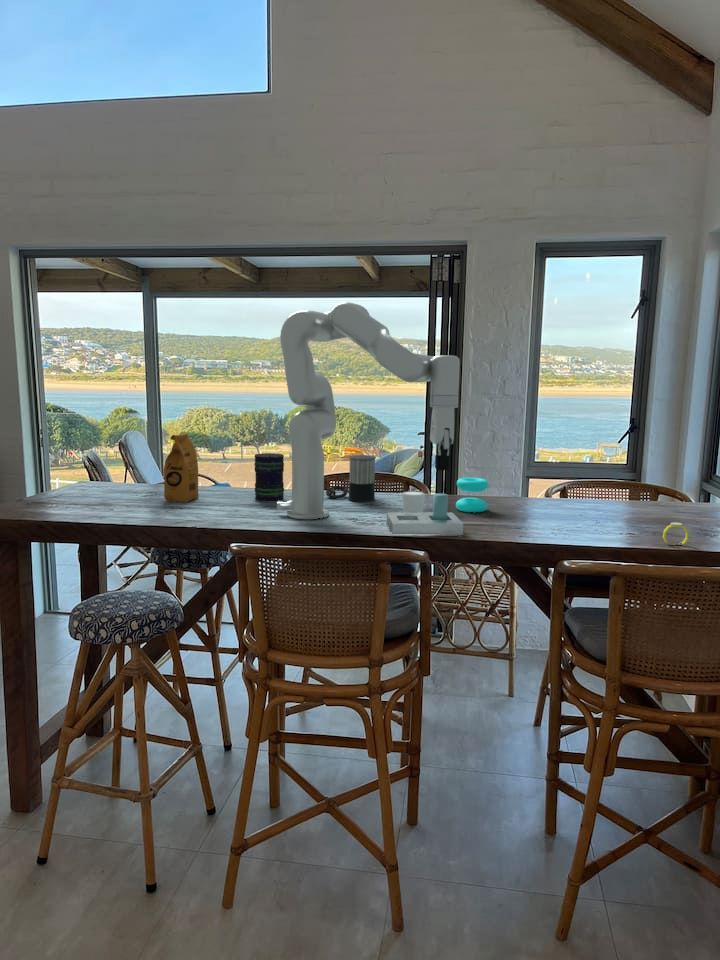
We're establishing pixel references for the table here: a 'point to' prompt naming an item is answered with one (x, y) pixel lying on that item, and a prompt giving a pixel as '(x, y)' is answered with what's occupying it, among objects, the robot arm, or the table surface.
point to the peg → (440, 506)
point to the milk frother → (358, 480)
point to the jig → (423, 523)
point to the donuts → (472, 486)
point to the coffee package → (181, 471)
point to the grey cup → (413, 501)
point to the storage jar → (269, 477)
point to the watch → (675, 524)
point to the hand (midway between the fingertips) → (441, 469)
